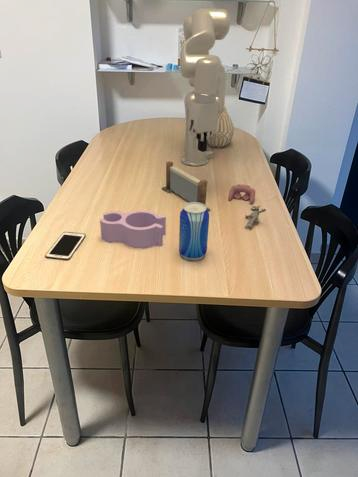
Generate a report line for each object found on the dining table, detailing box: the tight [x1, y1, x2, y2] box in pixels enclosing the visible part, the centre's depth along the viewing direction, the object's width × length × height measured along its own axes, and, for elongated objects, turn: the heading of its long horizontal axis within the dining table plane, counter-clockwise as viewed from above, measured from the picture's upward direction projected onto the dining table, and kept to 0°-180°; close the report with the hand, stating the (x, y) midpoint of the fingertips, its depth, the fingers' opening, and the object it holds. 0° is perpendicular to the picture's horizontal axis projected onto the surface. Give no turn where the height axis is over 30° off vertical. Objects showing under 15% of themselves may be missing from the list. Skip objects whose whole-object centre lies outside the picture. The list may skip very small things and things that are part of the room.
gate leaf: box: [170, 165, 200, 203], centre depth 148 cm, size 17×2×9 cm, turn 36°
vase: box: [207, 105, 235, 148], centre depth 202 cm, size 16×16×20 cm
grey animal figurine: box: [244, 205, 267, 229], centre depth 135 cm, size 10×6×9 cm
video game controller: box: [227, 183, 256, 205], centre depth 151 cm, size 10×5×7 cm, turn 71°
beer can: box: [178, 201, 210, 261], centre depth 115 cm, size 8×8×16 cm
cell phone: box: [44, 231, 87, 261], centre depth 122 cm, size 8×15×1 cm, turn 171°
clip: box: [99, 209, 167, 249], centre depth 125 cm, size 20×12×7 cm, turn 83°
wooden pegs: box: [161, 161, 211, 213], centre depth 148 cm, size 25×4×12 cm, turn 35°
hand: (202, 150), depth 143 cm, fingers closed
